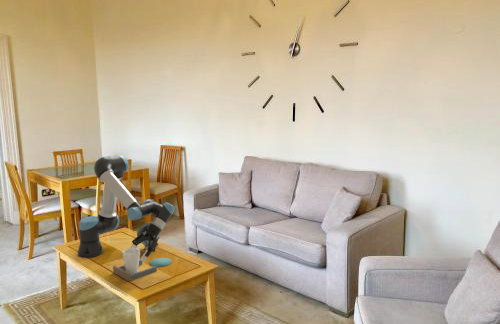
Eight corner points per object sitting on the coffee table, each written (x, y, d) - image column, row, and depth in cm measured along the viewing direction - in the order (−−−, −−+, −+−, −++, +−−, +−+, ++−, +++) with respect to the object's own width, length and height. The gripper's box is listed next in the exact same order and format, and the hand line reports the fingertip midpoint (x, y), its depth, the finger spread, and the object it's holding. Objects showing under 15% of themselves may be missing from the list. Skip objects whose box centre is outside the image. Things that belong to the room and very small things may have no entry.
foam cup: (143, 270, 219) (143, 249, 217) (134, 277, 210) (134, 254, 208) (129, 268, 221) (128, 247, 220) (120, 275, 212) (119, 253, 211)
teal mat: (145, 262, 230) (145, 262, 229) (163, 256, 239) (163, 256, 239) (158, 268, 221) (158, 268, 221) (176, 262, 231) (176, 261, 231)
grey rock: (132, 249, 251) (131, 223, 249) (150, 242, 264) (149, 218, 261) (146, 254, 243) (145, 227, 241) (164, 247, 256) (163, 221, 253)
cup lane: (113, 272, 216) (113, 266, 215) (141, 263, 229) (141, 256, 228) (128, 281, 205) (127, 274, 204) (156, 270, 218) (156, 264, 218)
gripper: (173, 234, 218) (151, 267, 209) (148, 225, 235) (127, 255, 225) (165, 227, 214) (143, 260, 204) (140, 219, 230) (119, 249, 221)
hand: (135, 258), depth 215 cm, fingers open, 13 cm apart
